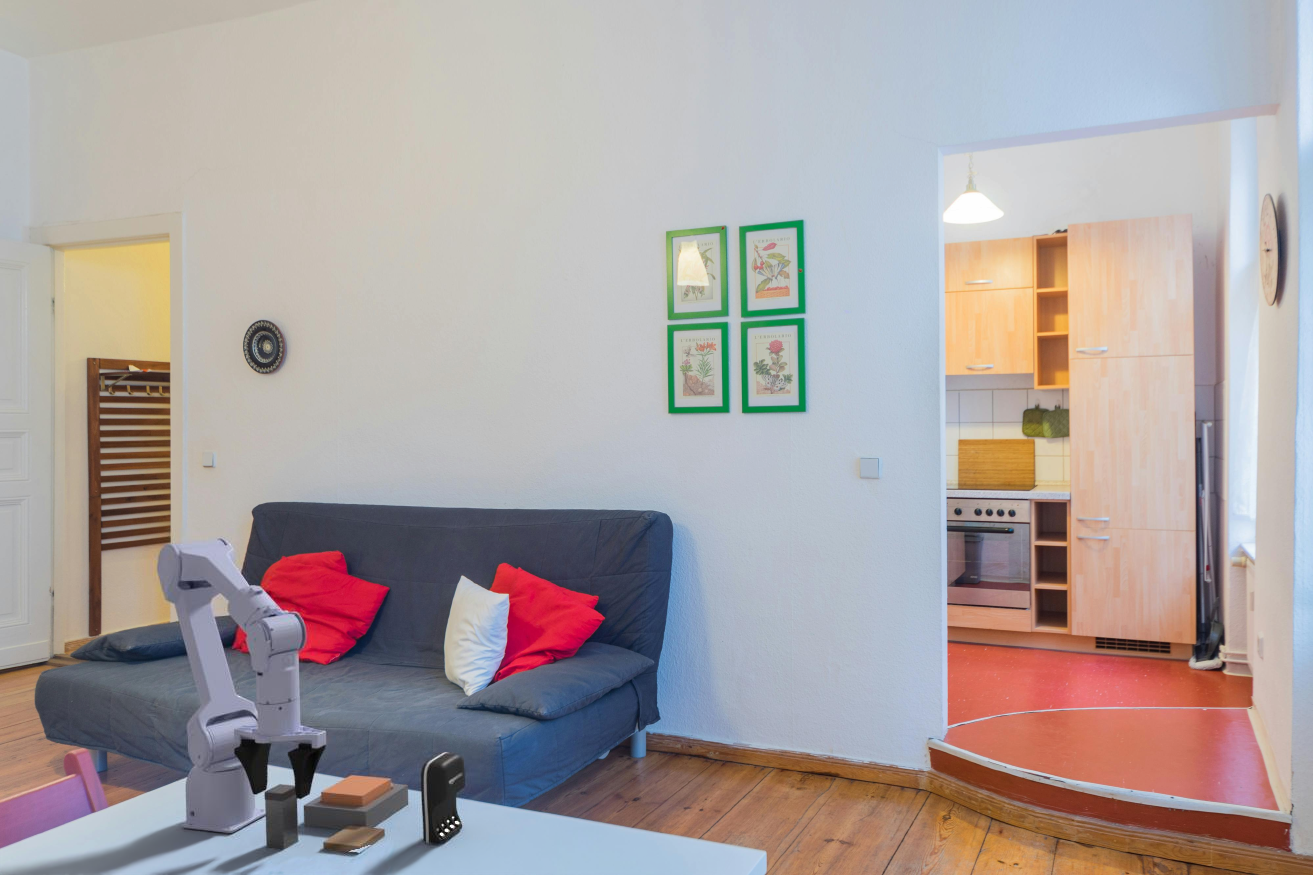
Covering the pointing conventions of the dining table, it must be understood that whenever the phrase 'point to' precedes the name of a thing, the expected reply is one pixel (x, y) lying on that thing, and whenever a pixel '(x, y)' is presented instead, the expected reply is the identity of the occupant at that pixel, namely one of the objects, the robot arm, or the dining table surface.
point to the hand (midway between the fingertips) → (281, 793)
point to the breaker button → (356, 791)
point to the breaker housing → (356, 810)
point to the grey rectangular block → (281, 817)
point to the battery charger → (441, 796)
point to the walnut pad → (353, 838)
